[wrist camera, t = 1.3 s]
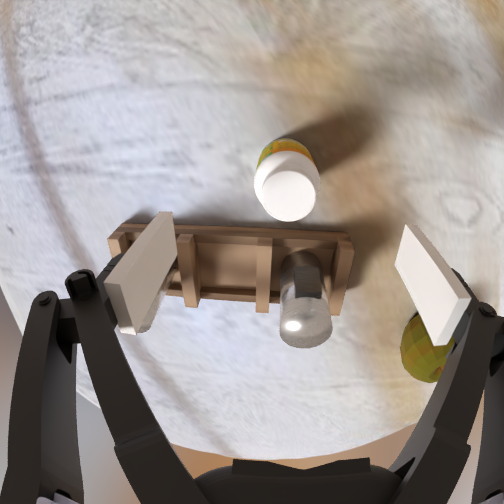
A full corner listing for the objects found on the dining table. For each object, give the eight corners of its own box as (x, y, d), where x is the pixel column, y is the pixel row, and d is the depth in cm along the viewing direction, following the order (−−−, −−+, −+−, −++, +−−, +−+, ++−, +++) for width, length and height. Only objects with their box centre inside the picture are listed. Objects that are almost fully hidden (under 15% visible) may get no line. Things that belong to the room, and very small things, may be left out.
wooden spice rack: (122, 223, 34) (107, 239, 31) (347, 232, 32) (354, 250, 29) (135, 281, 39) (124, 300, 35) (335, 294, 37) (339, 315, 34)
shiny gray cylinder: (282, 245, 33) (282, 305, 24) (324, 247, 32) (338, 307, 24) (279, 283, 36) (277, 347, 27) (318, 285, 35) (327, 348, 27)
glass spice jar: (138, 238, 34) (100, 289, 25) (175, 240, 34) (143, 294, 25) (146, 274, 37) (115, 329, 28) (181, 277, 36) (155, 335, 28)
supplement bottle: (266, 131, 27) (261, 151, 19) (318, 146, 28) (336, 173, 19) (253, 180, 30) (243, 220, 22) (303, 193, 31) (312, 238, 22)
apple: (459, 305, 37) (487, 357, 28) (425, 347, 42) (444, 399, 33) (415, 292, 36) (443, 352, 27) (381, 339, 41) (397, 397, 32)
